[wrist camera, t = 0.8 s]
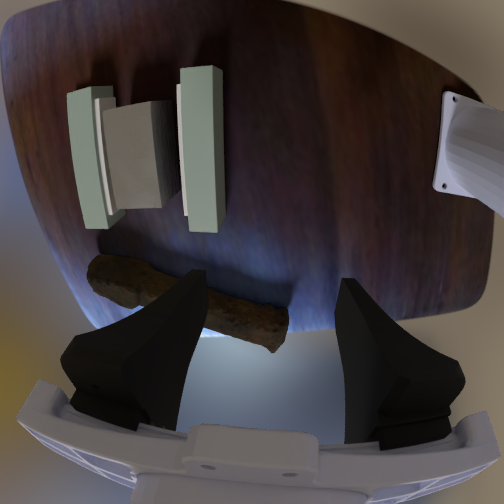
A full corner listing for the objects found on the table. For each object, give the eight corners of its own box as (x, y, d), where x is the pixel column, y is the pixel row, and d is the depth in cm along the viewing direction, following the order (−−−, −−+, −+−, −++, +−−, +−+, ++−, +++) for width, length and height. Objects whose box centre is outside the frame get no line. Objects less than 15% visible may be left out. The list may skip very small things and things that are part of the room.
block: (173, 100, 18) (149, 101, 15) (181, 189, 22) (161, 207, 18) (130, 107, 19) (102, 111, 15) (141, 191, 22) (116, 209, 19)
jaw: (222, 70, 17) (212, 65, 14) (225, 215, 22) (217, 232, 20) (189, 73, 17) (174, 69, 14) (195, 214, 22) (184, 231, 20)
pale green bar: (117, 84, 18) (95, 85, 15) (129, 214, 23) (112, 229, 20) (75, 95, 18) (52, 98, 15) (90, 214, 23) (72, 228, 21)
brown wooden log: (293, 302, 26) (293, 338, 22) (276, 330, 28) (273, 366, 24) (103, 229, 24) (75, 253, 20) (100, 262, 26) (76, 288, 22)
